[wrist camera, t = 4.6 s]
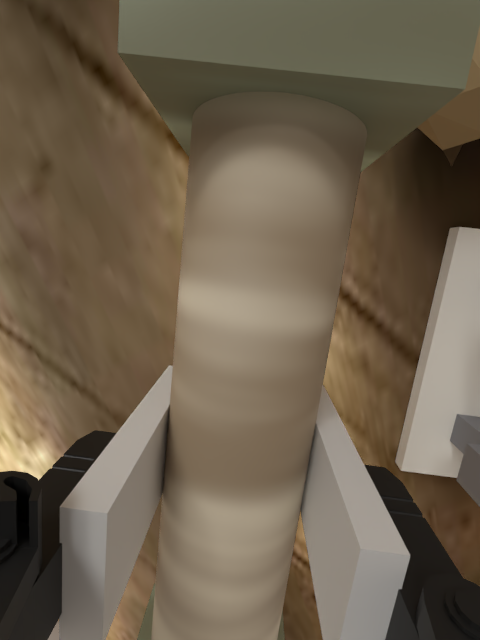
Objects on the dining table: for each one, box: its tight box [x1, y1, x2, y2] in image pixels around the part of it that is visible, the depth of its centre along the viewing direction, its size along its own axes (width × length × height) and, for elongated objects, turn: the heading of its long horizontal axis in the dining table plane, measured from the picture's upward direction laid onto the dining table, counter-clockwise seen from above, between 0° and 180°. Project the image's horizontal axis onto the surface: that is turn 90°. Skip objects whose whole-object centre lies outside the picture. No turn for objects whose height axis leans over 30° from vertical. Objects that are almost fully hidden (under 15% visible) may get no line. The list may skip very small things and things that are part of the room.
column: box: [118, 0, 480, 640], centre depth 9 cm, size 20×5×5 cm, turn 173°
